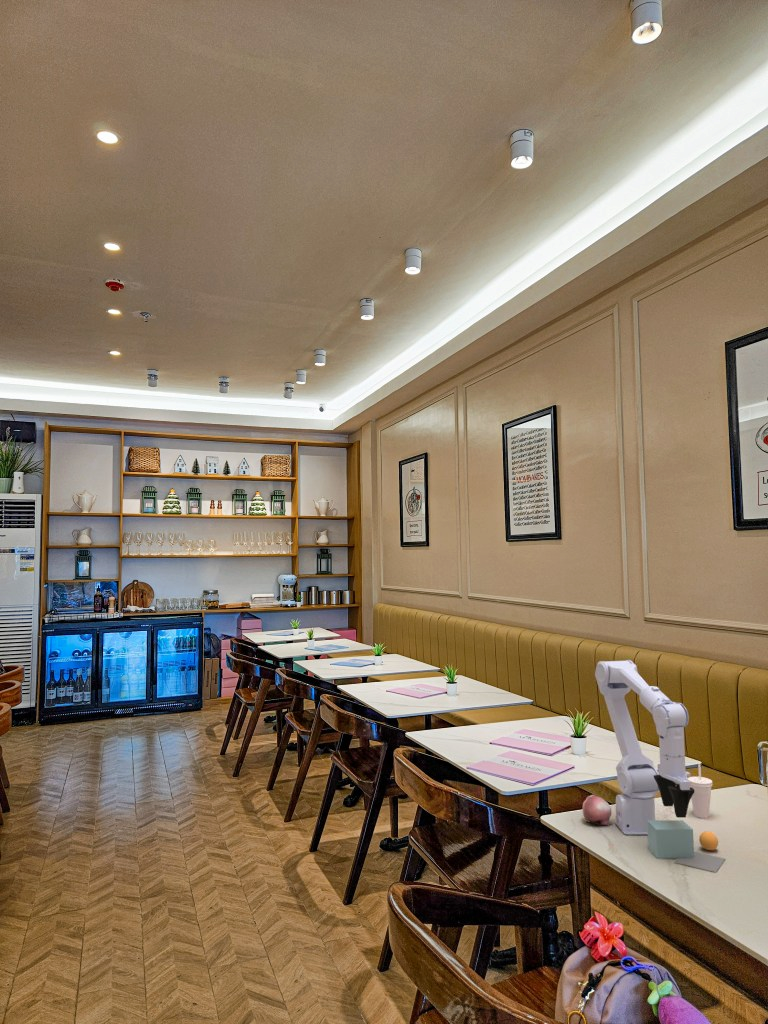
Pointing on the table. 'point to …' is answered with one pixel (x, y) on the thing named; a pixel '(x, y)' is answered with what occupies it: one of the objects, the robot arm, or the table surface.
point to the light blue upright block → (670, 838)
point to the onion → (596, 810)
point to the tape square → (701, 861)
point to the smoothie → (701, 794)
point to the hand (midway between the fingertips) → (674, 811)
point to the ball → (708, 840)
